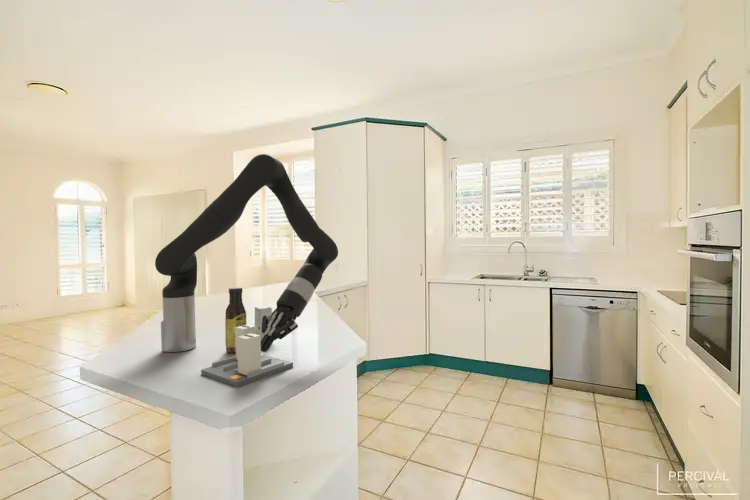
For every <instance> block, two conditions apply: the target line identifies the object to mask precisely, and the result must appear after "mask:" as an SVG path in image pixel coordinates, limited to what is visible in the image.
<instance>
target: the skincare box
mask: <svg viewBox="0 0 750 500" xmlns="http://www.w3.org/2000/svg"><path fill="white" fill-rule="evenodd" d="M272 312H273V309H272V307H270V306H268V305H258V306H254V326H256V335H260V339H261V340H262V339H263V337H264V333H263V332H262V331H261V330H262V319H263V316H265V315H266V316H267V317H268V316H270V315H272Z"/></svg>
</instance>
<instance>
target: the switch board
mask: <svg viewBox="0 0 750 500" xmlns="http://www.w3.org/2000/svg"><path fill="white" fill-rule="evenodd" d="M293 367H294V362H292V361H289V360H285V359H280V358H277V357H275V356H274V357H273V356H269V355H266V354H262V353H261V369H259V370H256V371H253V372H250V373H247V375H244V374H241V373H238V360H236V355H233V356H230V357H227V358H223V359H219V360H216V361H214V362H212V363H211V366H209V367H205V368H202V369H201V370H200V375H203V376H205V377H208V378H210V379H213V380H216V381H220V382H222V383H225V384H227V385H230V386H233V387H236V388H241V387H243V386H246V385H248V384H250V383H253V382H256V381H259V380H261V379H265V378H267V377H269V376H273V375H274V374H277V373H280V372H283V371H286V370H288V369H289V370H290V369H291V368H293Z"/></svg>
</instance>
